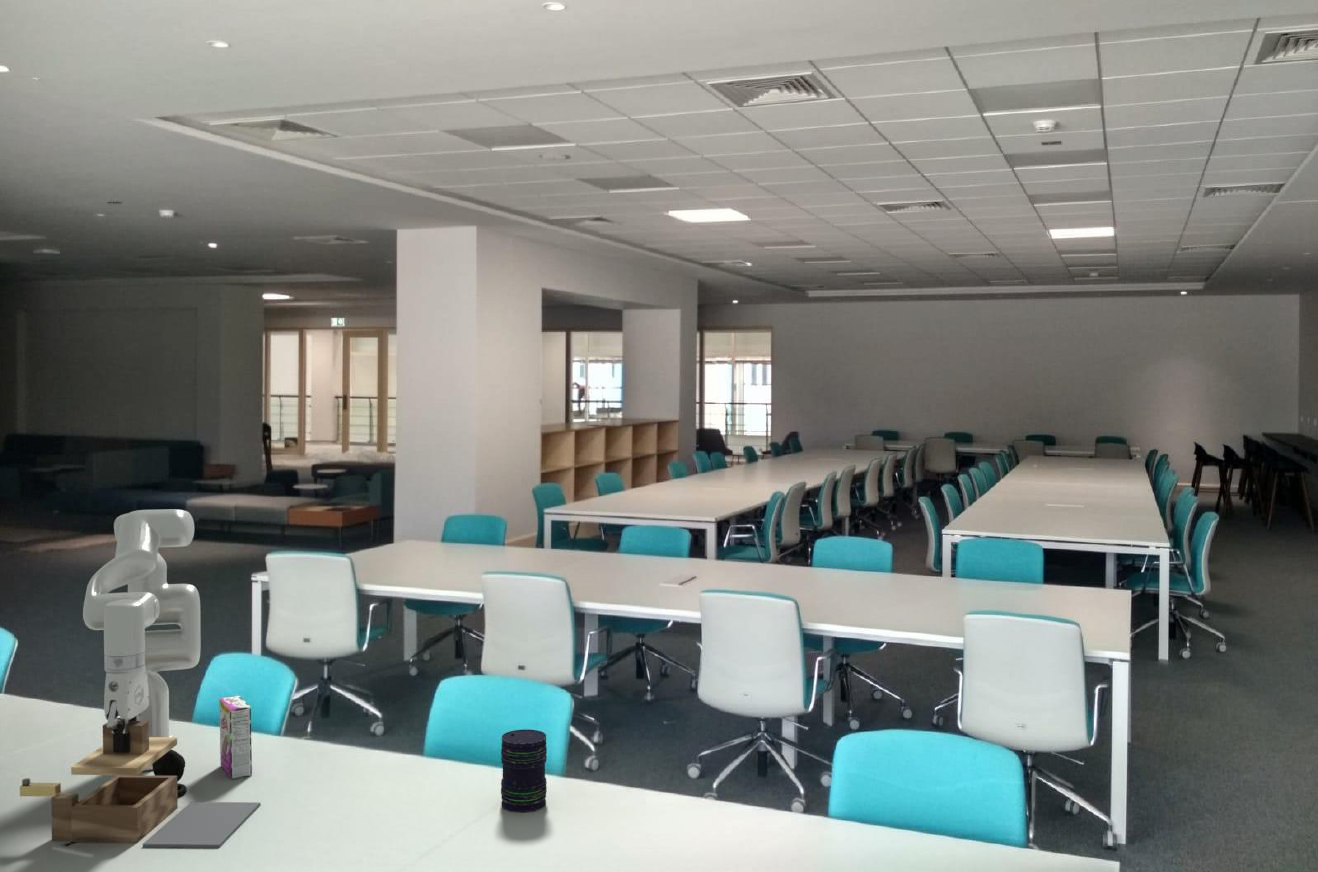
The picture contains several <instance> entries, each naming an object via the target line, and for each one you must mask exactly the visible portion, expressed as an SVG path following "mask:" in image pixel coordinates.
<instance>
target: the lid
mask: <svg viewBox="0 0 1318 872" xmlns="http://www.w3.org/2000/svg"><path fill="white" fill-rule="evenodd" d="M117 723H121V724H122V726H123V722H117ZM128 733H130V752H128V753H114V752H113V734H112V730H111V729H110V728H107V722H105V723H104V724H103V725H102V745H101V746H100V747H99V748H98V749H96V750H95V751H93V752H91V753H89V754H88V755H87V756H86V757H84V758H83V759H81V760H80V761H78V762H77V763H75V764H73V765H72V766H71V767H70V774H71V775H73V776H74V775H75V776H116V775H127V776H137V775H140V774H142V773H143V771H144V770H145V769H146V768H148V767H149V766H150V765H151V764H153V763H154V762H155V761H157V760H158V759H159V758H160V757H162V756H163V755H164V754H166V753H167V752H168V751H169V750H173V749H174V748H175V747H176V746H177V745H178V737H173V738H172V737H149V721H128ZM144 772H145V771H144Z"/></svg>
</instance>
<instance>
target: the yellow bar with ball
mask: <svg viewBox="0 0 1318 872" xmlns="http://www.w3.org/2000/svg"><path fill="white" fill-rule="evenodd" d="M60 793H62V783H60V782H31V778H26V777H25V778H23V779H22V780H21V785H20V786H19V797H45V798H46V797H48V798H49V797H50V798H52V797H55V796H57V795H58V794H60Z"/></svg>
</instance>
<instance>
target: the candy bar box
mask: <svg viewBox="0 0 1318 872" xmlns="http://www.w3.org/2000/svg"><path fill="white" fill-rule="evenodd" d="M218 701H219V709H218V710H219V741H220V742H219V745H220V746H219V748H220V749H219V750H220V755H219V756H220V759H219V760H220V767H221V768H222V769H223V770H224V772H225V773H226V774H227V775H228V776H229V778H230V779H231V780H236V779H240V778H247V777H250V776H252V775H253V766H252V765H253V761H252V760H253V759H252V758H253V755H252V754H253V753H252V752H253V751H252V707H251V706H250V705H249V703H247V702H246V701H245V700H244V699H243V698H242V696H240V695H234V696H227V697H221V698H219V700H218Z"/></svg>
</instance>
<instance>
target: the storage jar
mask: <svg viewBox="0 0 1318 872" xmlns="http://www.w3.org/2000/svg"><path fill="white" fill-rule="evenodd" d="M547 749H548V747H547V734H546V733H545V732H544V731H540V730H536V729H525V728H524V729H513V730H510V731H507V732H505V733H503V734H502V735H501V748H500V756H501V758H500V760H501V764H502V778H501V782H500V785H501V787H500V797H501V808H502V809H503V810H505V811H507V812H510V813H517V814H518V813H521V814H523V813H533V812H537V811H540V810H542V809H544V808H545V807H546V805H547V800H546V798H547V792H548V791H547V787H548V786H547V783H548V782H547V777H546V762H547V757H548V756H547V753H548V752H547V751H548V750H547Z"/></svg>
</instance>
